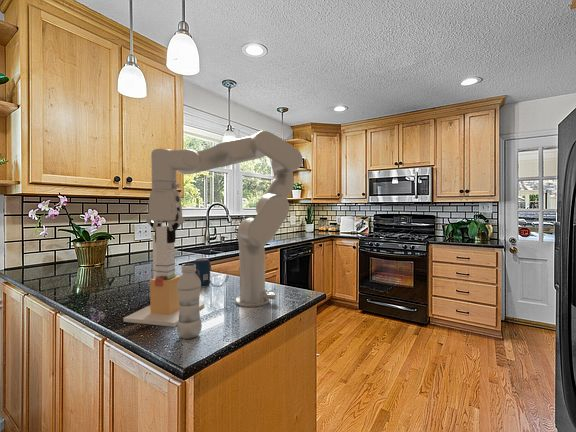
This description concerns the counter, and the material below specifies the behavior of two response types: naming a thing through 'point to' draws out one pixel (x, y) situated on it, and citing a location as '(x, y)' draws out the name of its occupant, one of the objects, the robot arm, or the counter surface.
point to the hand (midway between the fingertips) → (165, 241)
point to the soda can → (203, 271)
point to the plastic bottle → (189, 303)
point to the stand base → (160, 304)
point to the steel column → (164, 254)
